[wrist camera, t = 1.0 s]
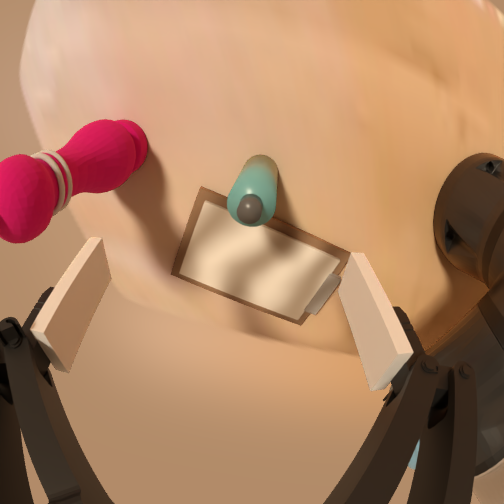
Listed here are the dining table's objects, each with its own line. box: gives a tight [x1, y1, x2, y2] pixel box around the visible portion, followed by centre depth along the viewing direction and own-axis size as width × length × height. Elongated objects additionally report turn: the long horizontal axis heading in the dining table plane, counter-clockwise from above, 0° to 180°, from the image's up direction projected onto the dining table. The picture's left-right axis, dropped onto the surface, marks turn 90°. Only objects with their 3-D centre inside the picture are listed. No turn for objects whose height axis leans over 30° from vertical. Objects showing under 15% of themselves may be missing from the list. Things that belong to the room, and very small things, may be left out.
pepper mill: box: [0, 119, 147, 243], centre depth 19 cm, size 7×7×20 cm
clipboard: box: [171, 186, 351, 325], centre depth 33 cm, size 18×12×1 cm, turn 67°
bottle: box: [227, 155, 278, 227], centre depth 23 cm, size 3×3×11 cm
